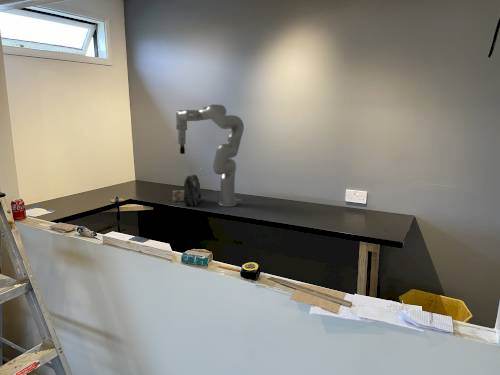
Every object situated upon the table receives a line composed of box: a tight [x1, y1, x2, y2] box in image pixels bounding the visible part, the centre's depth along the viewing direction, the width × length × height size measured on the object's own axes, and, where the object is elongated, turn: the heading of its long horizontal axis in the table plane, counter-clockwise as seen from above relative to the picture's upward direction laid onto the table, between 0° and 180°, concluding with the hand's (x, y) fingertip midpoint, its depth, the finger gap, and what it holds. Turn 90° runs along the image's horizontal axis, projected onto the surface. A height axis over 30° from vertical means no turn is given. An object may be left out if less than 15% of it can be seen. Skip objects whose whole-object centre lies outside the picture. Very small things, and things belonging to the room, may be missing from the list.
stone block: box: [183, 174, 202, 207], centre depth 238 cm, size 18×9×20 cm, turn 166°
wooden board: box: [172, 189, 203, 202], centre depth 248 cm, size 20×2×7 cm, turn 104°
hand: (182, 153), depth 252 cm, fingers closed
